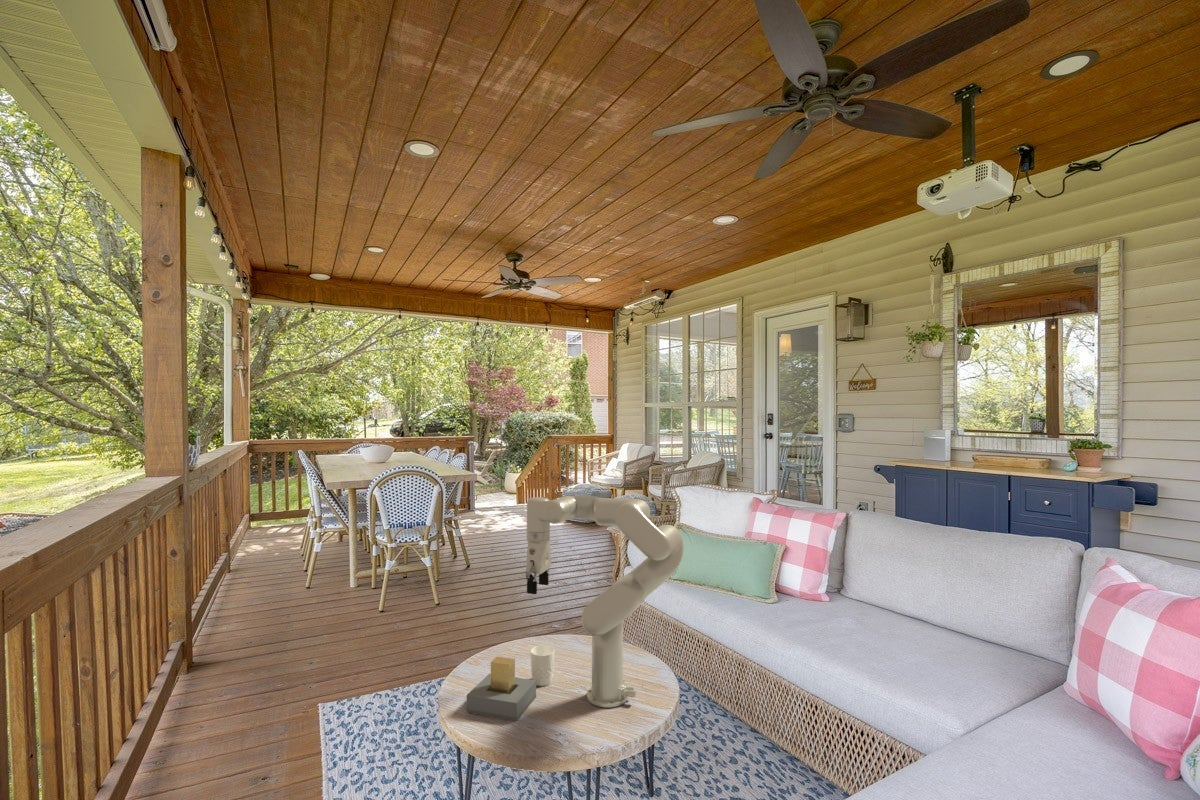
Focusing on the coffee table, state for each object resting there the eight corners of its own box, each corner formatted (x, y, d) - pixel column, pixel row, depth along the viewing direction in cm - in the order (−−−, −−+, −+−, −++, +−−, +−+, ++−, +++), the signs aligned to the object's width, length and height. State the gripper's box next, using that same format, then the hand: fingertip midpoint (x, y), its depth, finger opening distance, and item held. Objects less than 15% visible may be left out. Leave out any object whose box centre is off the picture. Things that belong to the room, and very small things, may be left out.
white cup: (527, 678, 181) (527, 647, 182) (550, 674, 185) (550, 643, 185) (534, 689, 174) (534, 657, 175) (557, 684, 177) (558, 653, 178)
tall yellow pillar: (514, 699, 166) (514, 658, 166) (508, 705, 162) (509, 664, 162) (496, 696, 168) (496, 656, 168) (490, 702, 164) (490, 662, 164)
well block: (536, 697, 169) (536, 680, 169) (516, 721, 156) (516, 703, 156) (489, 689, 174) (489, 673, 174) (466, 712, 160) (466, 694, 160)
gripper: (538, 542, 170) (538, 598, 169) (558, 531, 187) (558, 582, 186) (516, 540, 172) (515, 596, 171) (537, 530, 189) (537, 580, 188)
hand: (537, 589), depth 179 cm, fingers open, 9 cm apart
